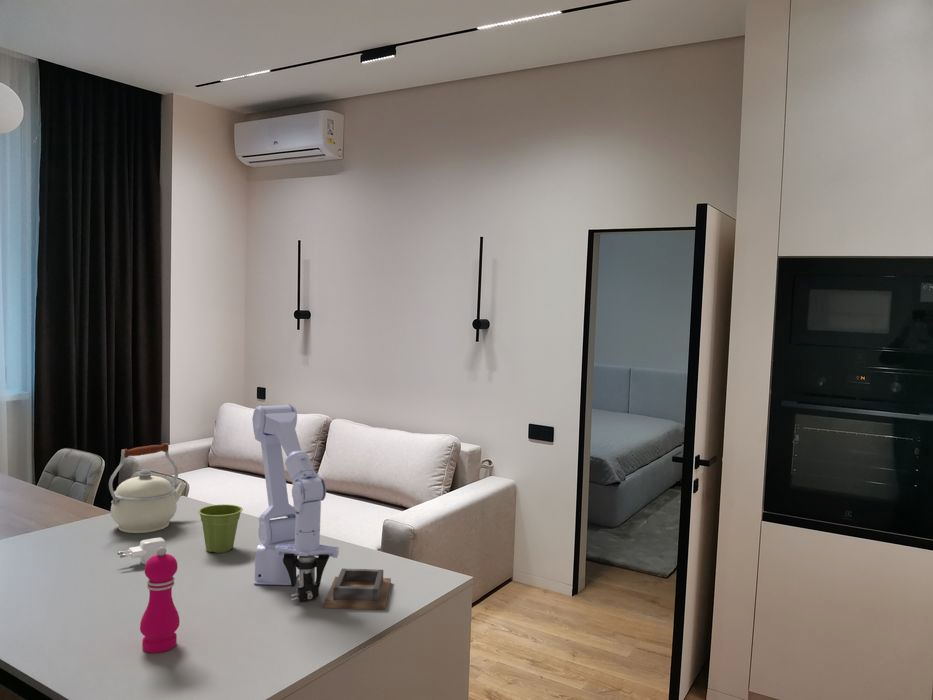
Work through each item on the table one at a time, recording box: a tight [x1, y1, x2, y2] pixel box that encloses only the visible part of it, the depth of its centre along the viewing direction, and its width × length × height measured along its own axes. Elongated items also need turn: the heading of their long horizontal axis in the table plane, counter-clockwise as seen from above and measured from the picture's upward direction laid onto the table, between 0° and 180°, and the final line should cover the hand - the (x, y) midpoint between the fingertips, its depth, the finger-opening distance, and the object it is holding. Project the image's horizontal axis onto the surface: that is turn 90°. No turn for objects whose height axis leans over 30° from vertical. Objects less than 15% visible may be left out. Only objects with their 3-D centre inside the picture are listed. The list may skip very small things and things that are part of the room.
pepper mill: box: [139, 547, 180, 654], centre depth 137 cm, size 7×7×20 cm
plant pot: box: [197, 504, 243, 554], centre depth 194 cm, size 12×12×11 cm
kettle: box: [108, 442, 187, 534], centre depth 212 cm, size 25×18×25 cm
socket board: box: [323, 568, 392, 610], centre depth 166 cm, size 14×16×4 cm
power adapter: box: [117, 537, 167, 566], centre depth 181 cm, size 11×5×6 cm, turn 129°
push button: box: [290, 555, 320, 602], centre depth 162 cm, size 7×5×10 cm
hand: (305, 585), depth 162 cm, fingers closed on push button, 5 cm apart
